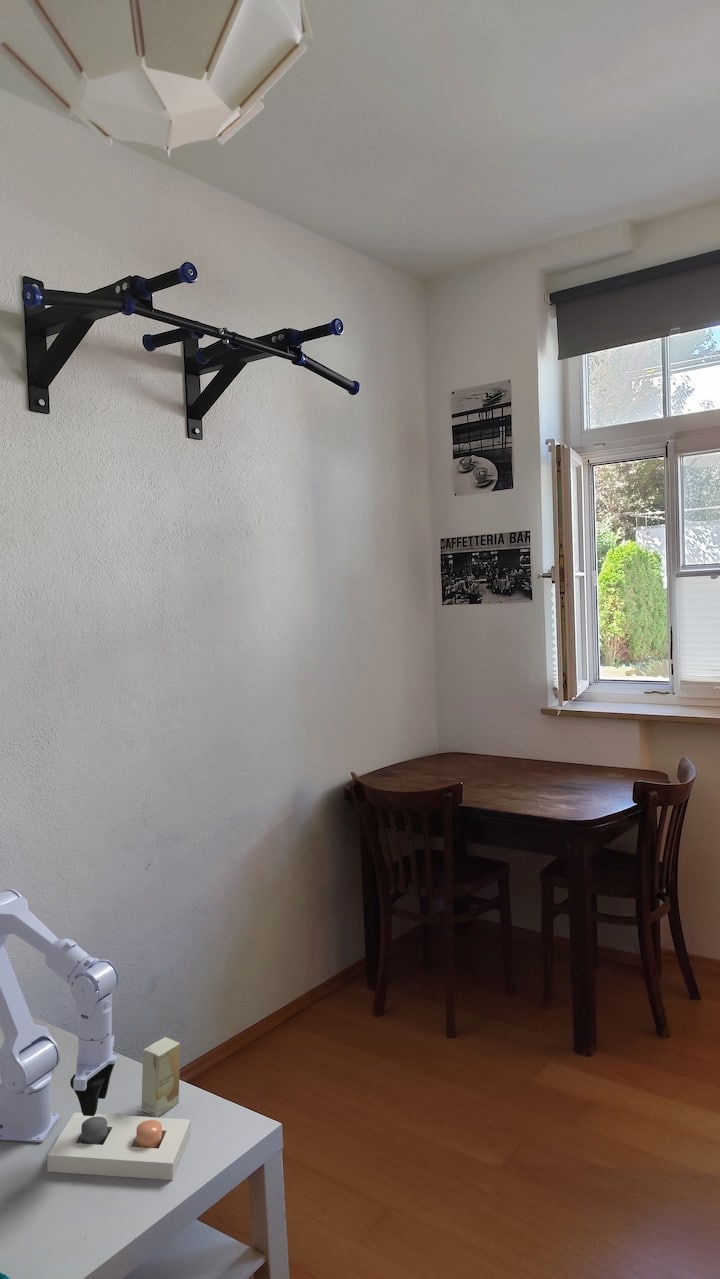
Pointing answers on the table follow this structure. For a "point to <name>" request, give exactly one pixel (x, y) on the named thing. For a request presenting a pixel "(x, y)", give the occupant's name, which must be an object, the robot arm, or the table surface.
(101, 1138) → the grey rounded piece
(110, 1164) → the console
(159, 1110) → the skincare box
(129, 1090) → the table surface
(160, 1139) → the terracotta button
